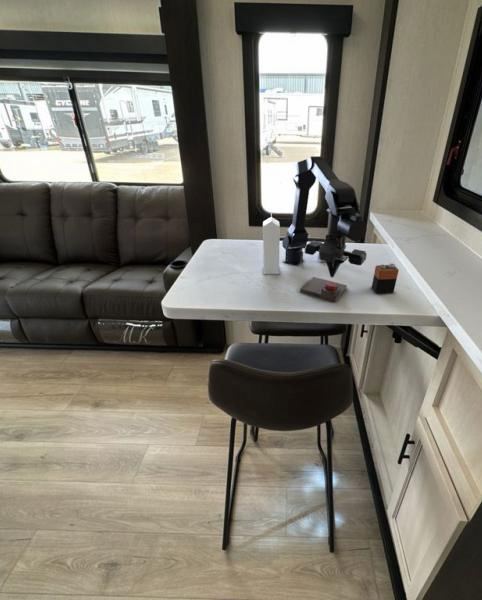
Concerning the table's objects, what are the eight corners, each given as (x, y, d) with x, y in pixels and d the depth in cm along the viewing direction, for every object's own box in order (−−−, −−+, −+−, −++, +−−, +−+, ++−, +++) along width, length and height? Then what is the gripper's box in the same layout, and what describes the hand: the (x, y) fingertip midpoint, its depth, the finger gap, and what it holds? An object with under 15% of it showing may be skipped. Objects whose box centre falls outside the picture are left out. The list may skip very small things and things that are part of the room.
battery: (394, 293, 107) (400, 267, 102) (375, 294, 106) (381, 267, 101) (388, 287, 111) (394, 261, 106) (370, 288, 110) (375, 262, 105)
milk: (278, 268, 123) (279, 212, 112) (279, 274, 117) (280, 217, 106) (263, 267, 122) (263, 212, 111) (263, 274, 117) (262, 217, 106)
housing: (299, 292, 105) (299, 283, 103) (313, 280, 114) (313, 271, 112) (335, 303, 100) (336, 293, 98) (347, 289, 109) (348, 280, 107)
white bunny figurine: (318, 263, 128) (319, 245, 124) (315, 257, 133) (316, 239, 129) (330, 263, 128) (332, 245, 124) (327, 257, 134) (329, 239, 130)
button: (323, 289, 101) (324, 284, 101) (327, 285, 104) (328, 280, 103) (333, 292, 100) (334, 287, 99) (337, 287, 103) (338, 283, 102)
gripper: (297, 232, 90) (295, 279, 97) (359, 244, 82) (351, 294, 90) (313, 223, 98) (310, 267, 106) (370, 233, 91) (362, 280, 98)
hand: (332, 276), depth 100 cm, fingers closed
